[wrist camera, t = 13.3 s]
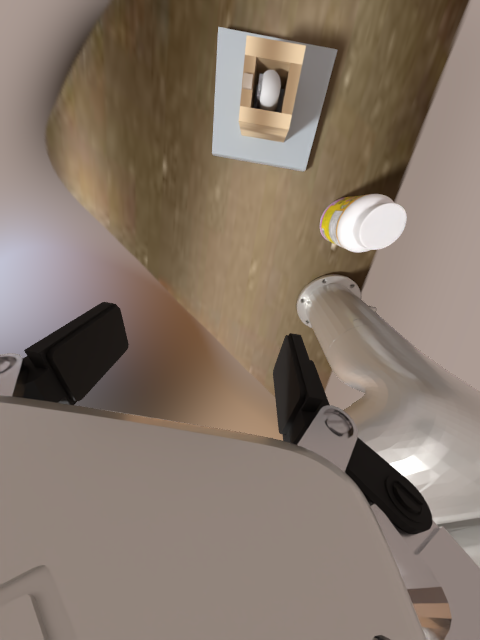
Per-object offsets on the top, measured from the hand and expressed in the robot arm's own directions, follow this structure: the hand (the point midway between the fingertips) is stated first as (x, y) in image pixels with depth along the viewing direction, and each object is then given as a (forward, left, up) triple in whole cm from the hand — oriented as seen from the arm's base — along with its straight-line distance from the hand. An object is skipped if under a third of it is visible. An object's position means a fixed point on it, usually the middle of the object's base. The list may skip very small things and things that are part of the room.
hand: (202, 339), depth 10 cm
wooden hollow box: (-1, -18, -27) cm, 33 cm away
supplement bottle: (-16, -7, -28) cm, 33 cm away
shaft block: (-1, -18, -28) cm, 34 cm away
